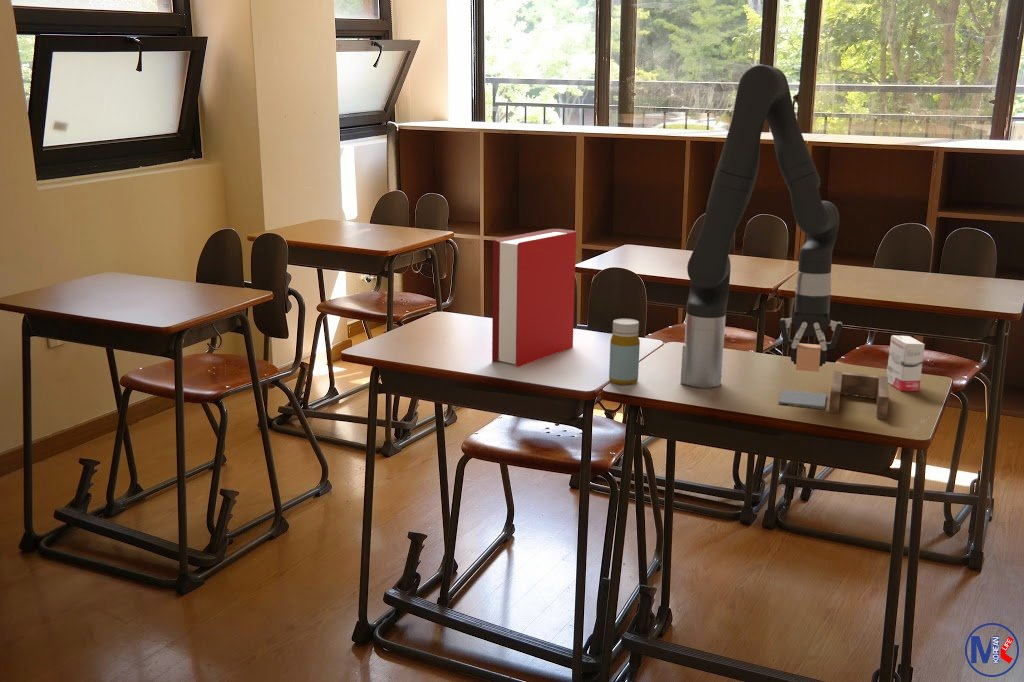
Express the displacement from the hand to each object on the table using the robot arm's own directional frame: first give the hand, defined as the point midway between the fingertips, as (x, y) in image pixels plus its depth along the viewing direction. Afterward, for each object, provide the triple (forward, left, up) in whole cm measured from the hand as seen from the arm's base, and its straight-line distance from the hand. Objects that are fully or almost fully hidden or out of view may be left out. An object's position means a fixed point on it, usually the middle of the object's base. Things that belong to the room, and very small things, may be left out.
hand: (807, 364), depth 220 cm
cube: (0, -1, -1) cm, 1 cm away
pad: (0, 0, -9) cm, 9 cm away
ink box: (+22, +21, -9) cm, 31 cm away
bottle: (-42, -1, -9) cm, 43 cm away
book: (-70, +15, -9) cm, 72 cm away
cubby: (+12, +1, -9) cm, 14 cm away
